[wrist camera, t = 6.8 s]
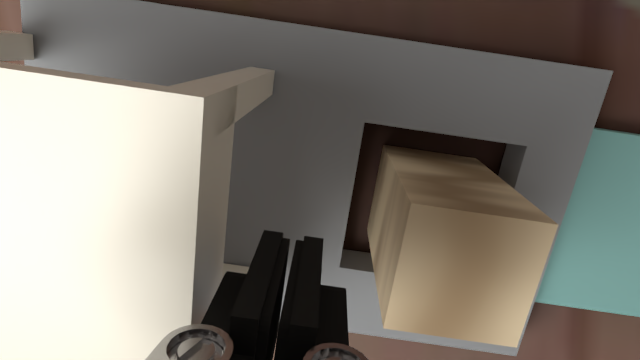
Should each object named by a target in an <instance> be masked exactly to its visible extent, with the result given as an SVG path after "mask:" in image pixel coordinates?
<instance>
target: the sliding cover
mask: <svg viewBox="0 0 640 360" xmlns="http://www.w3.org/2000/svg"><path fill="white" fill-rule="evenodd" d="M14 60H34V47H33V34H26V33H19V32H13V31H1V30H0V61H14ZM274 74H275V70H270V69H263V68H256V67H247V68H243V69H239V70H235V71H230V72H226V73H222V74H218V75H213V76H209V77H205V78H201V79H196V80H192V81H188V82H184V83H180V84H175V85H171V86H163V85H156V84H149V83H142V82H135V81H129V80H122V79H115V78H108V77H102V76H95V75H88V74H81V73H74V72H68V71H61V70H54V69H47V68H40V67H34V66H27V65H20V64H13V63H6V62H0V360H145V359H146V358H147V357H148V356H149V355H150V353H151V352H152V351H153V350H154V349H155V347H156V346H157V345H158V344H159V343H160V341H161V340H162V339H163V338H164V337H165V336H167V335H168V334H169V333H170V332H172V331H174V330H176V329H178V328H180V327H183V326H187V325H193V324H201V322H202V320H203V318H204V316H205V314H206V312H207V310H208V307H209V305H210V303H211V301H212V299H213V297H214V295H215V293H216V291H217V289H218V287H219V285H220V283H221V281H222V279H223V277H224V275H225V273H226V272H227V271H230V272H237V273H244V274H247V272H248V270H249V267H246V266H239V265H232V264H225V263H223V260H224V248H225V236H226V223H227V211H228V198H229V186H230V174H231V161H232V149H233V136H234V124H235V122H237V121H238V120H239V119H241V118H242V117H243V116H245V115H246V114H247V113H249V112H250V111H251V110H253V109H254V108H255V107H257V106H258V105H259V104H261V103H262V102H263V101H265V100H266V99H267V98H269V97H270V96H271V95H272V93H273V83H274Z"/></svg>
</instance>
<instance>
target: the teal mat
mask: <svg viewBox="0 0 640 360" xmlns="http://www.w3.org/2000/svg"><path fill="white" fill-rule="evenodd" d="M535 302H539V303H546V304H553V305H560V306H567V307H574V308H581V309H588V310H595V311H602V312H609V313H616V314H622V315H629V316H636V317H640V134H635V133H628V132H621V131H615V130H608V129H601V128H594V129H593V132H592V135H591V138H590V141H589V144H588V147H587V150H586V153H585V156H584V159H583V162H582V165H581V168H580V170H579V173H578V176H577V179H576V182H575V185H574V188H573V191H572V194H571V197H570V200H569V203H568V206H567V209H566V212H565V214H564V217H563V220H562V223H561V226H560V229H559V232H558V235H557V238H556V241H555V244H554V247H553V250H552V253H551V255H550V258H549V261H548V264H547V267H546V270H545V273H544V276H543V279H542V282H541V285H540V288H539V291H538V294H537V297H536V299H535Z"/></svg>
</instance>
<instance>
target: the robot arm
mask: <svg viewBox="0 0 640 360" xmlns="http://www.w3.org/2000/svg"><path fill="white" fill-rule="evenodd" d="M323 240H324V238H317V237H310V236H304V241H302V240H296V243H295V248H294V253H293V257H292V262H291V267H290V272H289V277H288V282H287V287H286V292H285V297H284V302H283V306H282V299H283V291H284V283H285V276H286V268H287V261H288V253H289V246H290V239H288V238H283V233H282V232H275V231H268V230H264V231H263V234H262V236H261V239H260V241H259V244H258V247H257V249H256V252H255V254H254V257H253V259H252V262H251V264H250V267H249V270H248V272H247V274H244V273H237V272H230V271H227V272H226V273H225V275H224V277H223V279H222V281H221V283H220V285H219V287H218V289H217V291H216V293H215V295H214V297H213V299H212V301H211V303H210V305H209V307H208V310H207V312H206V314H205V316H204V318H203V320H202V322H201V324H193V325H187V326H183V327H180V328H178V329H176V330H174V331H172V332H170V333H169V334H168V335H167V336H165V337H164V338H163V339H162V340H161V341H160V343H159V344H158V345H157V346H156V347H155V349H154V350H153V351H152V352H151V353H150V355H149V356H148V357H147V358H146V359H145V360H272V358H273V353H274V348H275V343H276V350H275V357H274V360H368V359H367V358H366V357H365V356H364V355H363V353H361V352H359V351H358V350H356V349H355V348H353V347H350V346H349V341H348V318H347V295H346V288H341V287H334V286H327V285H321V272H322V256H323ZM281 306H282V311H281ZM280 314H281V316H280ZM279 321H280V322H279ZM277 333H278V335H277ZM276 339H277V342H276Z"/></svg>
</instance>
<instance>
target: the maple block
mask: <svg viewBox="0 0 640 360" xmlns="http://www.w3.org/2000/svg"><path fill="white" fill-rule="evenodd" d="M557 228H558V224H557V223H556V222H555V221H553V220H552V219H551V218H550V217H548V216H547V215H546V214H545V213H543V212H542V211H541V210H540V209H538V208H537V207H536V206H535V205H533V204H532V203H531V202H530V201H528V200H527V199H526V198H525V197H523V196H522V195H521V194H520V193H519V192H517V191H516V190H515V189H514V188H512V187H511V186H510V185H509V184H507V183H506V182H505V181H504V180H502V179H501V178H500V177H499V176H497V175H496V174H495V173H494V172H492V171H491V170H490V169H489V168H487V167H486V166H485V165H484V164H482V163H481V162H480V161H479V160H477V159H476V158H472V157H465V156H458V155H451V154H444V153H438V152H431V151H424V150H417V149H410V148H404V147H397V146H390V145H383V148H382V153H381V159H380V164H379V169H378V174H377V180H376V185H375V190H374V195H373V201H372V206H371V211H370V216H369V221H368V227H367V233H368V239H369V245H370V251H371V257H372V263H373V269H374V275H375V281H376V287H377V293H378V299H379V305H380V311H381V317H382V324H383V329H390V330H397V331H404V332H411V333H418V334H425V335H432V336H439V337H446V338H453V339H460V340H467V341H474V342H481V343H488V344H494V345H501V346H508V347H515V348H517V346H518V343H519V340H520V337H521V334H522V331H523V328H524V325H525V322H526V319H527V316H528V313H529V310H530V307H531V304H532V301H533V298H534V296H535V293H536V290H537V287H538V284H539V281H540V278H541V275H542V272H543V269H544V266H545V263H546V260H547V257H548V254H549V251H550V248H551V246H552V243H553V240H554V237H555V234H556V231H557Z"/></svg>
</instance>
